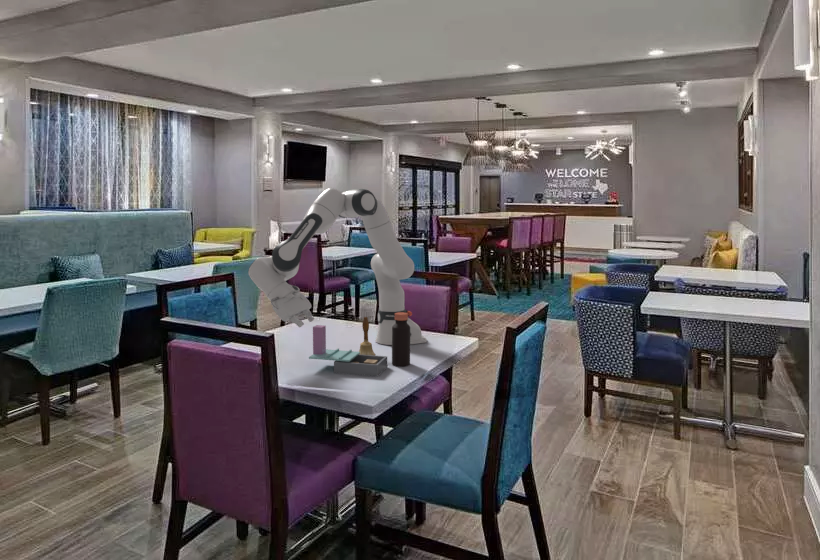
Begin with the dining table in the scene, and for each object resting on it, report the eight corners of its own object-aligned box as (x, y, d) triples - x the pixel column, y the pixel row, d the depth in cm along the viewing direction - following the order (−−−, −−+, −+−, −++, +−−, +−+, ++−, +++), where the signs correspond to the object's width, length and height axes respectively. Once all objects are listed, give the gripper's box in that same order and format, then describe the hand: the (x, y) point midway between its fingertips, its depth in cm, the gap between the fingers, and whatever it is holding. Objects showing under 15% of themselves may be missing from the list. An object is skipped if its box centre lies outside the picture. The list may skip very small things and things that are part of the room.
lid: (360, 353, 213) (360, 325, 211) (349, 361, 202) (349, 332, 200) (321, 350, 217) (321, 322, 215) (308, 358, 205) (308, 329, 204)
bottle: (413, 365, 217) (413, 312, 214) (405, 369, 211) (405, 315, 208) (396, 362, 220) (397, 311, 217) (388, 367, 214) (388, 314, 211)
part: (377, 368, 210) (377, 360, 209) (374, 371, 206) (374, 362, 206) (367, 367, 211) (367, 359, 210) (363, 370, 207) (363, 362, 207)
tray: (387, 369, 211) (387, 356, 211) (377, 378, 200) (377, 365, 199) (346, 365, 215) (345, 353, 214) (334, 375, 204) (333, 361, 203)
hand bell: (373, 360, 224) (373, 319, 221) (353, 358, 225) (352, 318, 223) (378, 354, 232) (378, 315, 230) (358, 353, 233) (358, 314, 231)
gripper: (274, 294, 200) (300, 323, 199) (299, 285, 220) (323, 312, 219) (262, 306, 202) (289, 335, 201) (288, 296, 221) (312, 323, 220)
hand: (307, 323), depth 210 cm, fingers open, 8 cm apart
